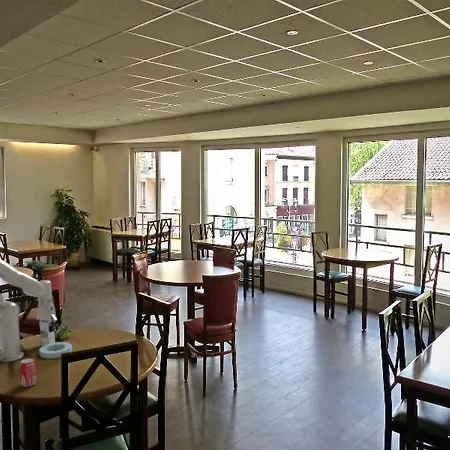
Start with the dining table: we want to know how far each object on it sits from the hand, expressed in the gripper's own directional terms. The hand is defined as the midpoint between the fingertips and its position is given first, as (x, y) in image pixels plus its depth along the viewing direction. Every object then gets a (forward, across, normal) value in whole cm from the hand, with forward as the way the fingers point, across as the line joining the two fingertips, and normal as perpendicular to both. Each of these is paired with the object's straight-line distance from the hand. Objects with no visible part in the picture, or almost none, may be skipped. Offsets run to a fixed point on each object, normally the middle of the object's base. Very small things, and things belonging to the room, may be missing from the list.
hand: (47, 330), depth 283 cm
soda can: (+9, -33, +45) cm, 57 cm away
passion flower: (+9, +1, -14) cm, 17 cm away
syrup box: (+9, 0, 0) cm, 9 cm away
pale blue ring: (+9, -14, +8) cm, 18 cm away
